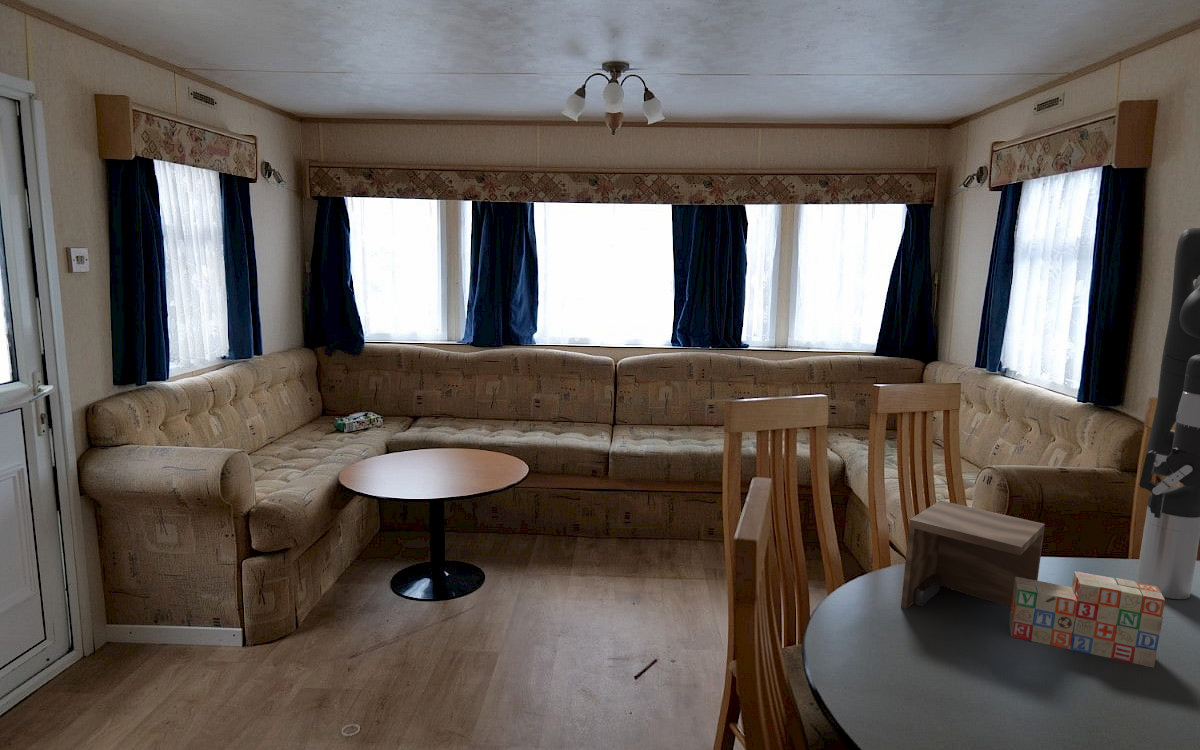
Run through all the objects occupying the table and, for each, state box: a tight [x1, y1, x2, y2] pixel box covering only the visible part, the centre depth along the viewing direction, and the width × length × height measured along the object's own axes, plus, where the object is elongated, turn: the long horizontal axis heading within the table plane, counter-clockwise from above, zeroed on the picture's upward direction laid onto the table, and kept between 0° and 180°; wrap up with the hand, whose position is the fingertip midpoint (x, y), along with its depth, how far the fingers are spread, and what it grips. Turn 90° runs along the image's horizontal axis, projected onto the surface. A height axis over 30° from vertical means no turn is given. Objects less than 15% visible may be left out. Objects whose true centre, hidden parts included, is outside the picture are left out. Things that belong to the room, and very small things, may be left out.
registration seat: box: [913, 574, 941, 607], centre depth 152 cm, size 10×2×3 cm, turn 138°
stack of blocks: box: [1008, 571, 1166, 668], centre depth 135 cm, size 21×6×12 cm, turn 65°
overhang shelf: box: [900, 500, 1046, 610], centre depth 146 cm, size 17×19×18 cm
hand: (1190, 523), depth 121 cm, fingers open, 8 cm apart
